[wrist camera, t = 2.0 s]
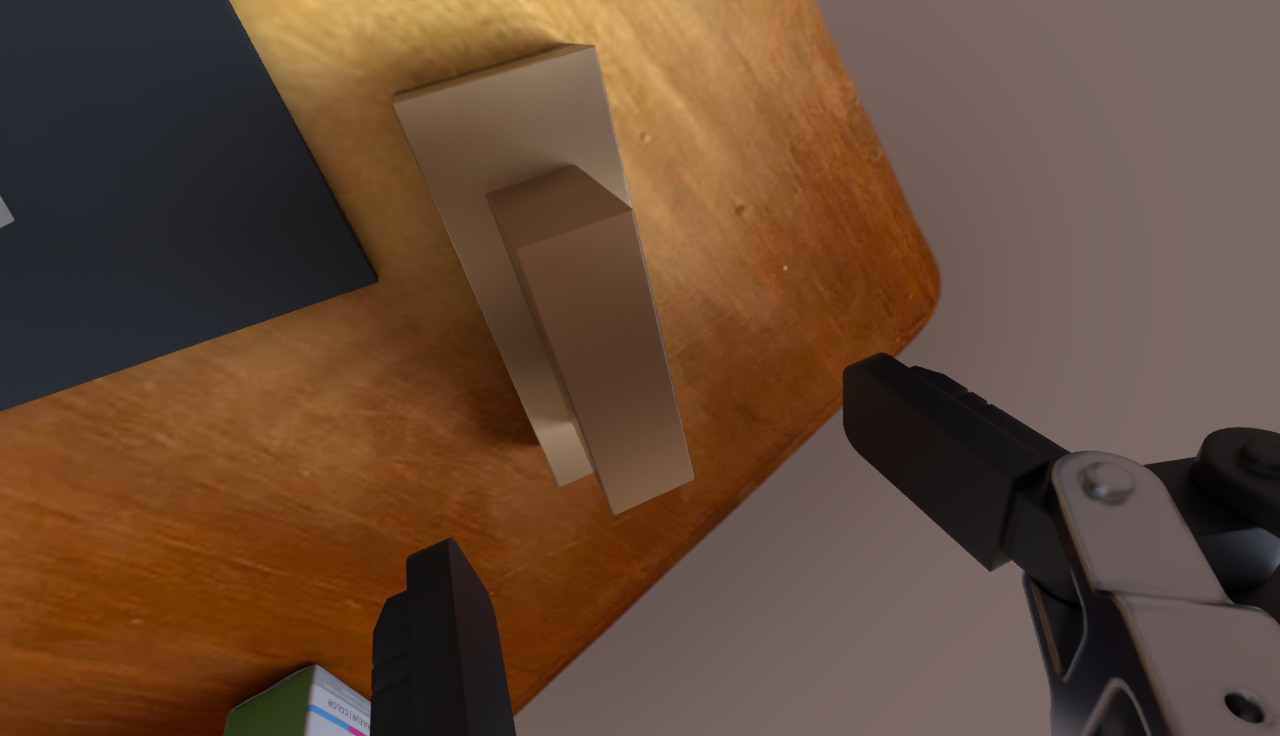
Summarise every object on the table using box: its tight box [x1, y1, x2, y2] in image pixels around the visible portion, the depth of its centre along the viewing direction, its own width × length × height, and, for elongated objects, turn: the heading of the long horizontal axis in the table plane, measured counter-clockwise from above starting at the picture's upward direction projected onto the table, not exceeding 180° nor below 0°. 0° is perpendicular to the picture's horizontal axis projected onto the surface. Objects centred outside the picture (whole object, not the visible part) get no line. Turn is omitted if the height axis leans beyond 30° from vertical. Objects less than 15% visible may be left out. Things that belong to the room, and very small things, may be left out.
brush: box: [392, 43, 694, 515], centre depth 16 cm, size 13×5×7 cm, turn 13°
